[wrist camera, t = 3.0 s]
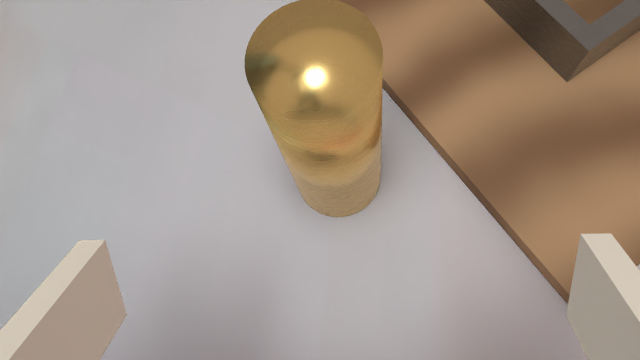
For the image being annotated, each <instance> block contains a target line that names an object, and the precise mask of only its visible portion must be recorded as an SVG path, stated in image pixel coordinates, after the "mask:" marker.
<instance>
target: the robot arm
mask: <svg viewBox="0 0 640 360" xmlns="http://www.w3.org/2000/svg"><path fill="white" fill-rule="evenodd" d="M126 315H127V314H126V310H125V307H124V303H123V300H122V296H121V293H120V290H119V286H118V283H117V279H116V276H115V272H114V269H113V266H112V262H111V259H110V255H109V252H108V248H107V245H106V241H105V240H80V241H79V242H78V243H77V244H76V245H75V246H74V247H73V249H72V250H71V251H70V252H69V253H68V254H67V255H66V256H65V258H64V259H63V260H62V261H61V262H60V263H59V264H58V266H57V267H56V268H55V269H54V270H53V271H52V272H51V274H50V275H49V276H48V277H47V278H46V279H45V280H44V281H43V283H42V284H41V285H40V286H39V287H38V288H37V289H36V291H35V292H34V293H33V294H32V295H31V296H30V297H29V299H28V300H27V301H26V302H25V303H24V304H23V305H22V306H21V308H20V309H19V310H18V311H17V312H16V313H15V314H14V316H13V317H12V318H11V319H10V320H9V321H8V322H7V324H6V325H5V326H4V327H3V328H2V329H1V330H0V360H100V359H101V357H102V355H103V354H104V352H105V350H106V349H107V347H108V345H109V344H110V342H111V340H112V339H113V337H114V335H115V334H116V332H117V330H118V328H119V327H120V325H121V323H122V322H123V320H124V318H125V317H126ZM566 317H567V319H568V321H569V323H570V325H571V327H572V329H573V331H574V333H575V335H576V337H577V339H578V341H579V343H580V345H581V347H582V349H583V351H584V353H585V355H586V357H587V359H588V360H640V271H639V269H638V268H637V267H636V265H635V264H634V263H633V261H632V260H631V259H630V257H629V256H628V255H627V253H626V252H625V251H624V250H623V248H622V247H621V246H620V244H619V243H618V242H617V240H616V239H615V238H614V236H613V235H612V234H611V233H605V234H581V235H580V240H579V246H578V251H577V257H576V262H575V268H574V274H573V279H572V285H571V290H570V296H569V301H568V307H567V313H566Z"/></svg>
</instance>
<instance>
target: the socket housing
mask: <svg viewBox="0 0 640 360" xmlns="http://www.w3.org/2000/svg"><path fill="white" fill-rule="evenodd" d="M484 1H485V2H486V3H487V4H488V5H489V6H490V7H491V8H492V9H493V10H494V11H495V12H496V13H497V14H498V15H499V16H500V17H501V18H502V19H503V20H504V21H505V22H506V23H507V24H508V25H509V26H510V27H511V28H512V29H513V30H514V31H515V32H516V33H517V34H518V35H519V36H520V37H521V38H522V39H523V40H524V41H525V42H526V43H527V44H528V45H530V46H531V47H532V48H533V49H534V50H535V51H536V52H537V53H538V54H539V55H540V56H541V57H542V58H543V59H544V60H545V61H546V62H547V63H548V64H549V65H550V66H551V67H552V68H553V69H554V70H555V71H556V72H557V73H558V74H559V75H560V76H561V77H562V78H563V79H564V80H565V81H566V82H568V81H570V80H571V79H572V78H574V77H575V76H577V75H578V74H579V73H581V72H582V71H584V70H585V69H586V68H588V67H589V66H591V65H592V64H593V63H595V62H596V61H598V60H599V59H600V58H602V57H603V56H605V55H606V54H607V53H609V52H610V51H612V50H613V49H614V48H616V47H617V46H619V45H620V44H621V43H623V42H624V41H626V40H627V39H628V38H630V37H631V36H633V35H634V34H635V33H637V32H638V31H640V0H624V1H623V2H621V3H620V4H619V5H617V6H616V7H614V8H613V9H611V10H610V11H609V12H607V13H606V14H604V15H603V16H602V17H600V18H599V19H597V20H596V21H594V22H593V23H592V24H590V25H589V24H588V23H587V22H586V21H585V20H584V19H583V18H582V17H581V16H580V15H578V14H577V13H576V12H575V11H574V10H573V9H572V8H571V7H570V6H569V5H568V4H567V3H565V2H564V1H563V0H484Z"/></svg>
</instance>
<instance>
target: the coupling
mask: <svg viewBox="0 0 640 360" xmlns="http://www.w3.org/2000/svg"><path fill="white" fill-rule="evenodd" d="M245 72H246V77H247V80H248V83H249V85H250V87H251V90H252V92H253V94H254V96H255V98H256V100H257V102H258V104H259V107H260V109H261V111H262V113H263V115H264V117H265V119H266V121H267V123H268V125H269V128H270V130H271V132H272V134H273V136H274V138H275V140H276V142H277V144H278V147H279V149H280V151H281V153H282V155H283V157H284V159H285V161H286V163H287V166H288V168H289V170H290V172H291V174H292V176H293V178H294V180H295V182H296V184H297V187H298V189H299V191H300V193H301V195H302V197H303V198H304V200H305V201H306V203H307V204H308V205H309V206H310V207H311V208H313V209H314V210H316V211H317V212H319V213H321V214H324V215H327V216H332V217H344V216H349V215H352V214H355V213H357V212H359V211H361V210H362V209H364V208H365V207H366V206H368V205H369V203H370V202H371V201H372V200H373V199H374V197H375V195H376V193H377V191H378V188H379V185H380V174H381V126H382V79H383V49H382V44H381V40H380V37H379V34H378V32H377V30H376V28H375V27H374V25H373V24H372V23H371V21H370V20H369V19H368V18H367V17H366V16H365V15H364V14H363V13H361V12H360V11H359V10H357V9H356V8H354V7H352V6H350V5H348V4H346V3H343V2H340V1H337V0H299V1H296V2H293V3H290V4H288V5H285V6H283V7H281V8H279V9H278V10H276V11H274V12H273V13H272V14H270V15H269V16H268V17H267V18H266V19H265V20H263V21H262V23H261V24H260V25H259V26H258V27H257V29H256V30H255V32H254V33H253V35H252V37H251V39H250V41H249V43H248V46H247V49H246V55H245Z"/></svg>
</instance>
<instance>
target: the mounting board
mask: <svg viewBox="0 0 640 360" xmlns="http://www.w3.org/2000/svg"><path fill="white" fill-rule="evenodd" d="M337 1H340V2H343V3H346V4H348V5H350V6H352V7H354V8H356V9H357V10H359V11H360V12H361V13H363V14H364V15H365V16H366V17H367V18H368V19H369V20H370V21H371V23H372V24H373V25H374V27H375V28H376V30H377V32H378V34H379V37H380V40H381V44H382V49H383V79H382V87H383V88H384V89H385V91H386V92H387V93H388V94H389V95H390V96H391V98H392V99H393V100H394V101H395V102H396V103H397V105H398V106H399V107H400V108H401V109H402V110H403V112H404V113H405V114H406V115H407V116H408V117H409V119H410V120H411V121H412V122H413V123H414V125H415V126H416V127H417V128H418V129H419V130H420V132H421V133H422V134H423V135H424V136H425V137H426V139H427V140H428V141H429V142H430V143H431V144H432V146H433V147H434V148H435V149H436V150H437V151H438V153H439V154H440V155H441V156H442V157H443V158H444V160H445V161H446V162H447V163H448V164H449V165H450V167H451V168H452V169H453V170H454V171H455V172H456V174H457V175H458V176H459V177H460V178H461V179H462V181H463V182H464V183H465V184H466V185H467V186H468V188H469V189H470V190H471V191H472V192H473V194H474V195H475V196H476V197H477V198H478V199H479V201H480V202H481V203H482V204H483V205H484V206H485V208H486V209H487V210H488V211H489V212H490V213H491V215H492V216H493V217H494V218H495V219H496V220H497V222H498V223H499V224H500V225H501V226H502V227H503V229H504V230H505V231H506V232H507V233H508V234H509V236H510V237H511V238H512V239H513V240H514V241H515V243H516V244H517V245H518V246H519V247H520V248H521V250H522V251H523V252H524V253H525V254H526V256H527V257H528V258H529V259H530V260H531V261H532V263H533V264H534V265H535V266H536V267H537V268H538V270H539V271H540V272H541V273H542V274H543V275H544V277H545V278H546V279H547V280H548V281H549V282H550V284H551V285H552V286H553V287H554V288H555V289H556V291H557V292H558V293H559V294H560V295H561V296H562V298H563V299H564V300H565V301H566V302H567V303H568V301H569V296H570V290H571V285H572V279H573V274H574V268H575V262H576V257H577V251H578V246H579V240H580V235H581V234H605V233H611V234H612V235H613V236H614V238H615V239H616V240H617V242H618V243H619V244H620V246H621V247H622V248H623V250H624V251H625V252H626V253H627V255H628V256H629V257H630V259H631V260H632V261H633V263H634V264H635V265H636V266H637V265H639V264H640V31H638V32H637V33H635V34H634V35H633V36H631V37H630V38H628V39H627V40H626V41H624V42H623V43H621V44H620V45H619V46H617V47H616V48H614V49H613V50H612V51H610V52H609V53H607V54H606V55H605V56H603V57H602V58H600V59H599V60H598V61H596V62H595V63H593V64H592V65H591V66H589V67H588V68H586V69H585V70H584V71H582V72H581V73H579V74H578V75H577V76H575V77H574V78H572V79H571V80H570V81H568V82H566V81H565V80H564V79H563V78H562V77H561V76H560V75H559V74H558V73H557V72H556V71H555V70H554V69H553V68H552V67H551V66H550V65H549V64H548V63H547V62H546V61H545V60H544V59H543V58H542V57H541V56H540V55H539V54H538V53H537V52H536V51H535V50H534V49H533V48H532V47H531V46H530V45H528V44H527V43H526V42H525V41H524V40H523V39H522V38H521V37H520V36H519V35H518V34H517V33H516V32H515V31H514V30H513V29H512V28H511V27H510V26H509V25H508V24H507V23H506V22H505V21H504V20H503V19H502V18H501V17H500V16H499V15H498V14H497V13H496V12H495V11H494V10H493V9H492V8H491V7H490V6H489V5H488V4H487V3H486V2H485V1H484V0H337ZM563 1H564V2H565V3H567V4H568V5H569V6H570V7H571V8H572V9H573V10H574V11H575V12H576V13H577V14H578V15H580V16H581V17H582V18H583V19H584V20H585V21H586V22H587V23H588V24H589V25H590V24H592V23H593V22H594V21H596V20H597V19H599V18H600V17H602V16H603V15H604V14H606V13H607V12H609V11H610V10H611V9H613V8H614V7H616V6H617V5H619V4H620V3H621V2H623V1H624V0H563Z"/></svg>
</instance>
